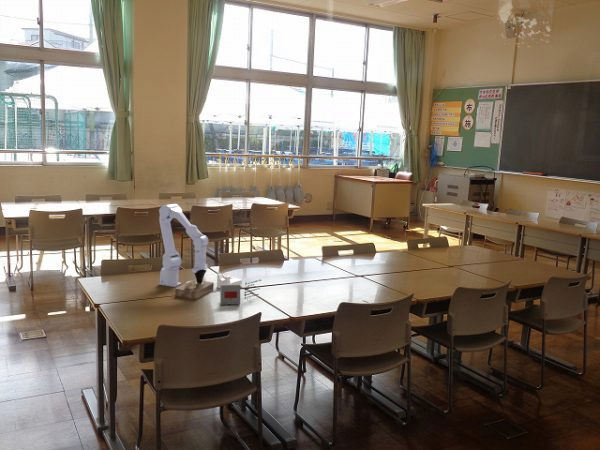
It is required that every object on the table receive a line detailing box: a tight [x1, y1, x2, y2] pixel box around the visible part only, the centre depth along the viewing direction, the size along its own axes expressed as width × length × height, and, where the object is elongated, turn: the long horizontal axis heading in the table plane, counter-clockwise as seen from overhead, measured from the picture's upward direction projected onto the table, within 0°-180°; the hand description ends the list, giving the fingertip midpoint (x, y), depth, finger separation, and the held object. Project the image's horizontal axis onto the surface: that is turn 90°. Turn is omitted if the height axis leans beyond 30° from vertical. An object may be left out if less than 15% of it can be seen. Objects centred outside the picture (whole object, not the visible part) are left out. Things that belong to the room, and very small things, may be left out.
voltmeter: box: [219, 279, 262, 306], centre depth 285 cm, size 27×11×10 cm, turn 143°
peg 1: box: [185, 280, 196, 290], centre depth 288 cm, size 4×4×4 cm
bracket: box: [216, 273, 243, 289], centre depth 310 cm, size 13×7×8 cm, turn 148°
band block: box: [174, 279, 215, 300], centre depth 293 cm, size 12×20×4 cm, turn 164°
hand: (199, 283), depth 298 cm, fingers closed, pressing on peg 2
